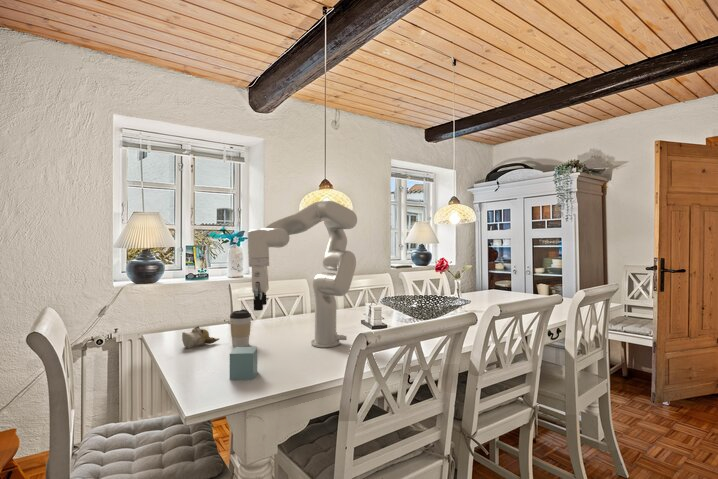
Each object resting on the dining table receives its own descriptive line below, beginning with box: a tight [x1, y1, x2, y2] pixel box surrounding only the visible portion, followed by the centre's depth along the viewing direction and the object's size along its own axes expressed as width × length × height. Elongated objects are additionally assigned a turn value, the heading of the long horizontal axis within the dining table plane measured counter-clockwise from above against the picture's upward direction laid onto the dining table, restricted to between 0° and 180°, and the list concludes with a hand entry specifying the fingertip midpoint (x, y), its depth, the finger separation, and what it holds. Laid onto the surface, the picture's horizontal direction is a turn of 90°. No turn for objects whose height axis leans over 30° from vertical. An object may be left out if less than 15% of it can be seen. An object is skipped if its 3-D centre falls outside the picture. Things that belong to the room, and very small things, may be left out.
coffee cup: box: [229, 309, 252, 348], centre depth 174 cm, size 9×9×15 cm
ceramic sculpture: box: [181, 326, 220, 349], centre depth 173 cm, size 11×9×15 cm
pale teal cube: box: [229, 346, 258, 381], centre depth 136 cm, size 8×8×9 cm
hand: (260, 307), depth 150 cm, fingers open, 9 cm apart
